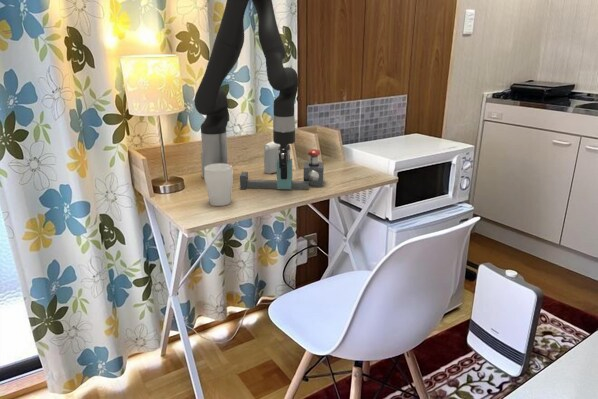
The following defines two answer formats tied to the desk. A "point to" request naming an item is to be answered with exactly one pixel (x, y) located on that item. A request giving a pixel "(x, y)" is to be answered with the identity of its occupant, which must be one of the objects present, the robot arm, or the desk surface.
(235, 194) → the desk surface
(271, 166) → the white rounded block
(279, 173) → the carriage
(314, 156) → the plunger
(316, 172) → the rail unit
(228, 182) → the cup
